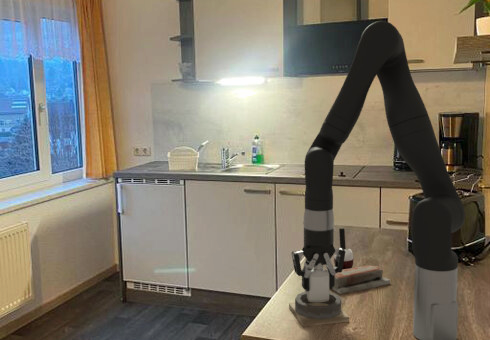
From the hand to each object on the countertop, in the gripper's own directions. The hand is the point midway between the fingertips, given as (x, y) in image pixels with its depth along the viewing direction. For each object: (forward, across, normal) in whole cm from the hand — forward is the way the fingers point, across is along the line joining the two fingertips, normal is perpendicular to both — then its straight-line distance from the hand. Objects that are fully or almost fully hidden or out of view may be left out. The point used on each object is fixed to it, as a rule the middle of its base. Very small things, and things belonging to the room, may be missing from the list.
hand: (318, 288), depth 137 cm
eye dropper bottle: (+3, 0, 0) cm, 3 cm away
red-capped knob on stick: (+7, +20, +31) cm, 37 cm away
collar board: (+7, 0, 0) cm, 7 cm away
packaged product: (+8, +18, +18) cm, 26 cm away
